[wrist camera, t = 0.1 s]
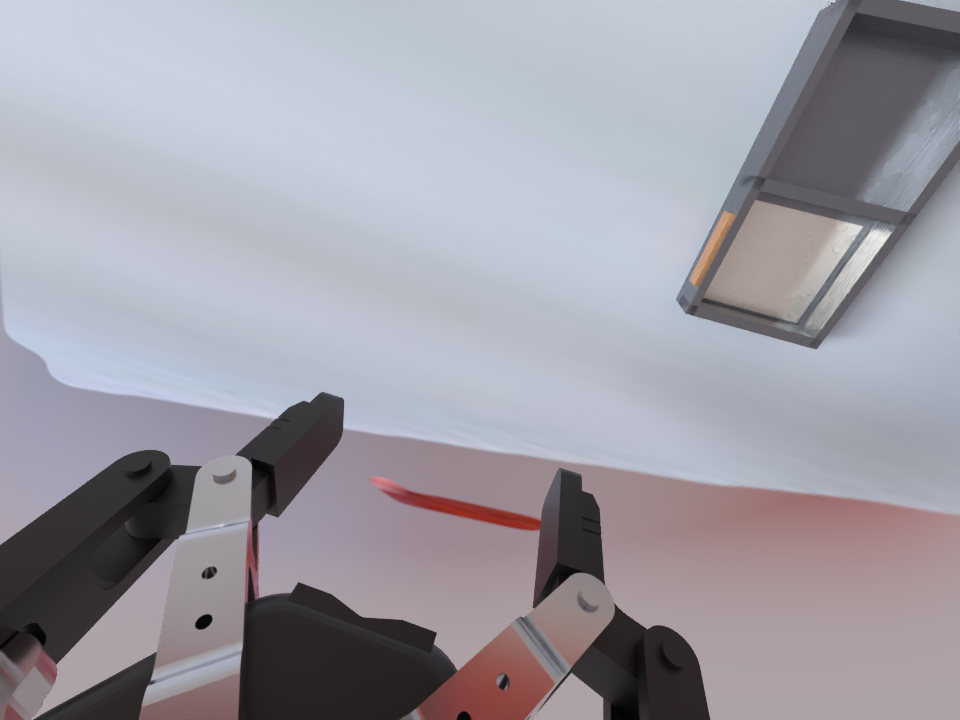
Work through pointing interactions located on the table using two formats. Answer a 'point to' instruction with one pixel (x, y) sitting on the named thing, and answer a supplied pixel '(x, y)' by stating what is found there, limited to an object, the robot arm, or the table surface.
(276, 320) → the table surface
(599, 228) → the table surface
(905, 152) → the tray
